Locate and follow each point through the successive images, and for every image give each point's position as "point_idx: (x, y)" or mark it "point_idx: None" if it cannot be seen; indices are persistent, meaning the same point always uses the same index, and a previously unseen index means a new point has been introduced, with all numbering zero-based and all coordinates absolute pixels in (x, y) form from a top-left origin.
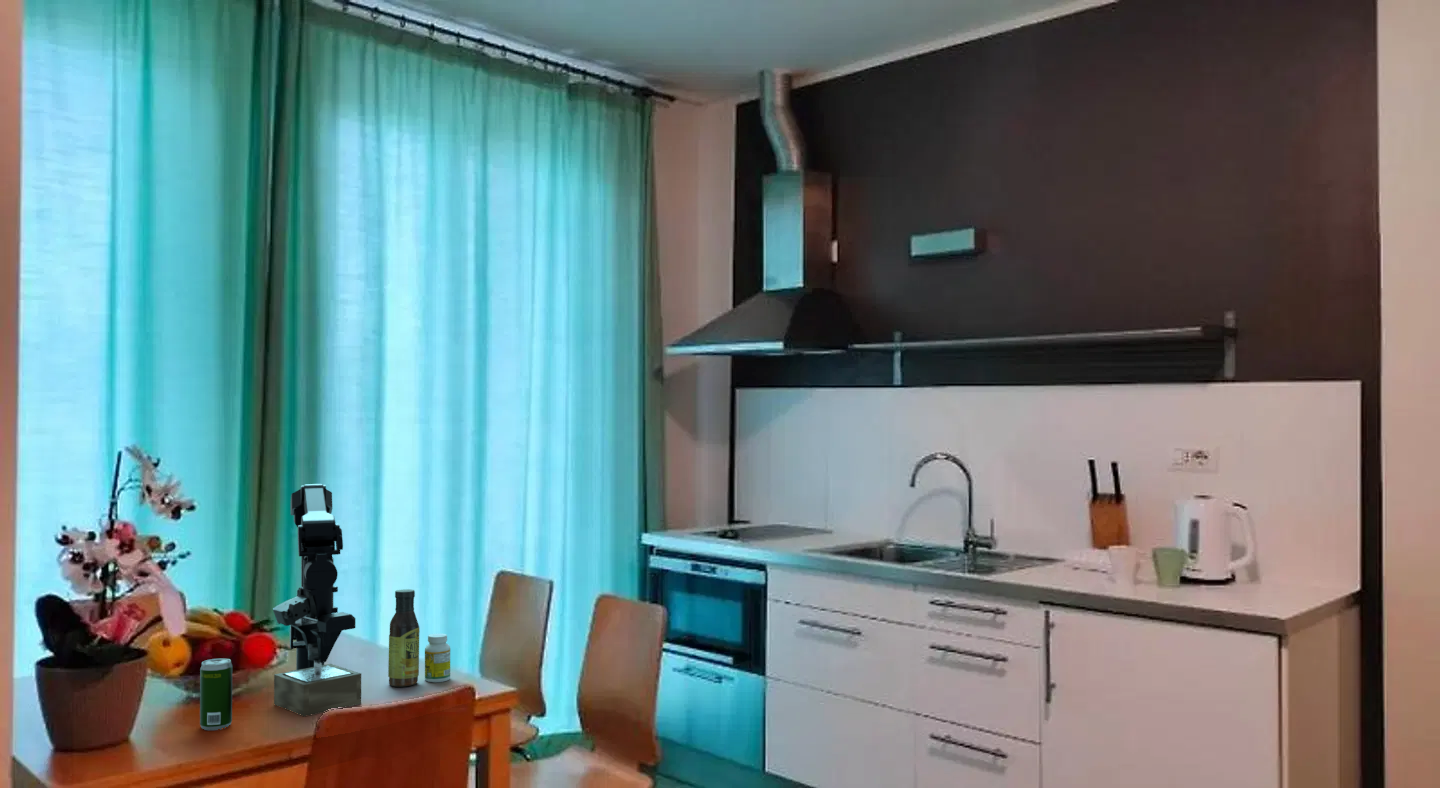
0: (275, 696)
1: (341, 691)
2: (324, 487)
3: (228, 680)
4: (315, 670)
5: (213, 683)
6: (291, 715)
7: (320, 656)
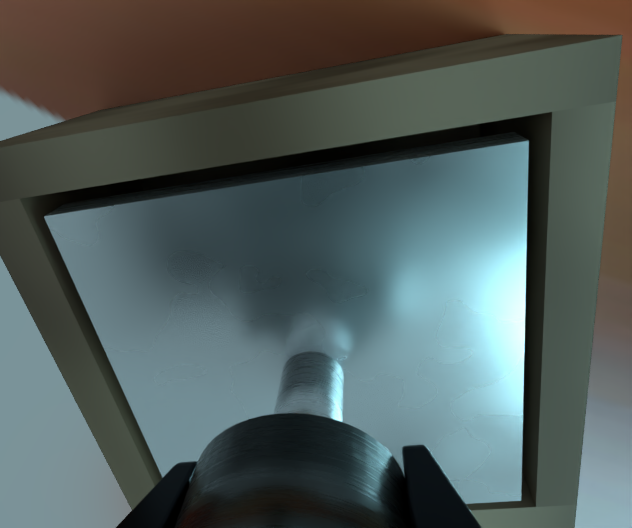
0: (506, 39)
1: None
2: None
3: None
4: (294, 378)
5: None
6: (169, 53)
7: (125, 520)
